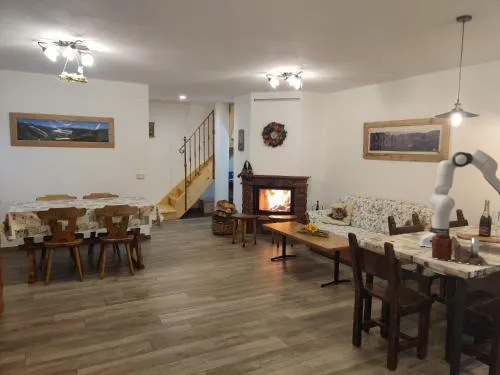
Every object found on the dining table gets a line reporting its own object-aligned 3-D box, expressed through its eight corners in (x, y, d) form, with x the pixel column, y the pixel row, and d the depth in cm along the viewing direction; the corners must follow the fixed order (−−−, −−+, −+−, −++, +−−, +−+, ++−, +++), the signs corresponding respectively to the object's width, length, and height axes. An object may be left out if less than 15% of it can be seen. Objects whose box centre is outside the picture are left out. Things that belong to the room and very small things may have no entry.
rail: (456, 263, 225) (457, 244, 224) (450, 253, 247) (451, 236, 246) (482, 265, 220) (483, 246, 219) (473, 255, 242) (474, 237, 241)
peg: (471, 257, 223) (472, 238, 222) (469, 255, 227) (470, 237, 225) (478, 257, 221) (479, 239, 220) (477, 256, 225) (478, 237, 224)
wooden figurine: (451, 259, 233) (453, 232, 231) (451, 262, 227) (452, 234, 226) (431, 256, 239) (432, 230, 237) (430, 259, 234) (431, 232, 232)
